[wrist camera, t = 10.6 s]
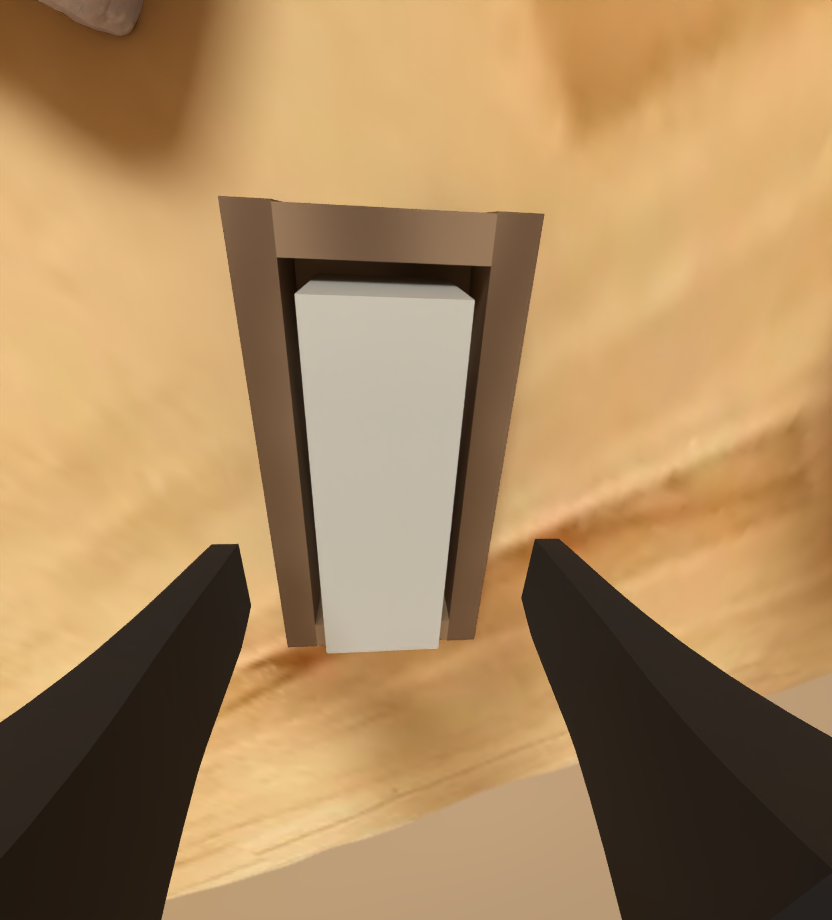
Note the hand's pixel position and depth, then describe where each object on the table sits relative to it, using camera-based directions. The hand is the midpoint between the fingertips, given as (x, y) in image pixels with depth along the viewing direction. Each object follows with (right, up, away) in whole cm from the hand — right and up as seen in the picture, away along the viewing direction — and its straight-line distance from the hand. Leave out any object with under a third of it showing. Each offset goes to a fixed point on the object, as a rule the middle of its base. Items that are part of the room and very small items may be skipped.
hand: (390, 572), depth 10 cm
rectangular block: (-1, +3, +6) cm, 7 cm away
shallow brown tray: (-1, +4, +7) cm, 8 cm away
